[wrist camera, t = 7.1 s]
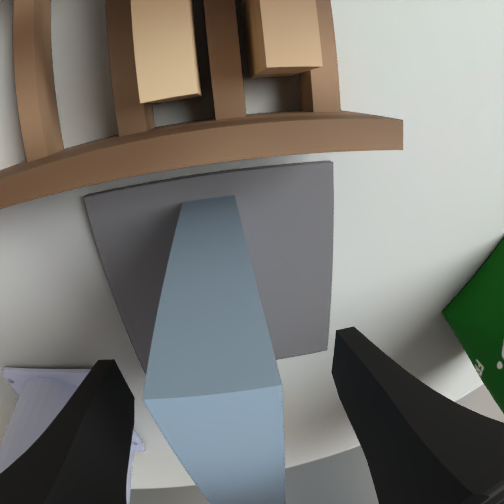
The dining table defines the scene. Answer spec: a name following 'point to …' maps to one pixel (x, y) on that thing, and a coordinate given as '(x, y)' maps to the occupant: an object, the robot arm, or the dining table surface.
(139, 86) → the offcut
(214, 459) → the blue block
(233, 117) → the rack
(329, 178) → the grey mat
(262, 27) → the offcut
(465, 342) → the milk carton
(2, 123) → the dining table surface
